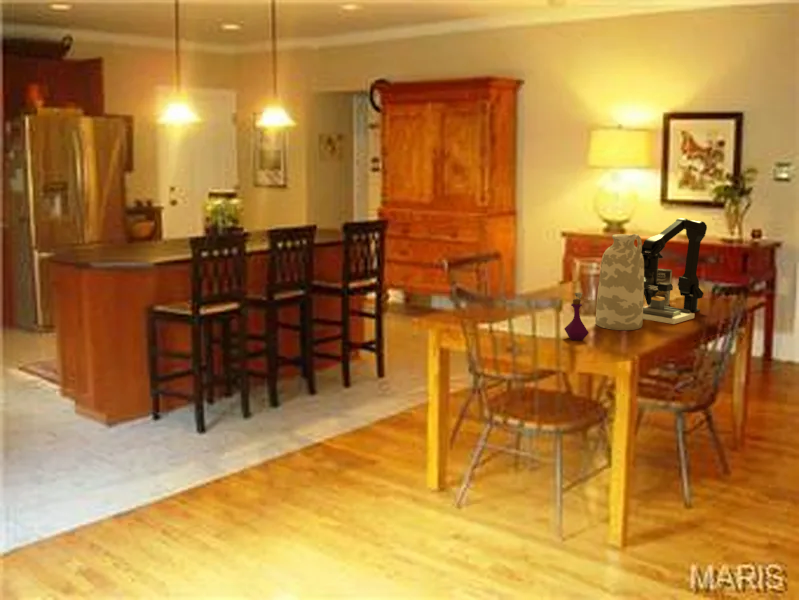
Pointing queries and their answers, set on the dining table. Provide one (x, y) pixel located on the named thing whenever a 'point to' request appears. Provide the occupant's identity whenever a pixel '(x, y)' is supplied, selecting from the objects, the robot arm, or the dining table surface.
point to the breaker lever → (657, 303)
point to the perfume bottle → (576, 322)
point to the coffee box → (664, 277)
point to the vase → (621, 285)
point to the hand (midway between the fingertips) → (648, 304)
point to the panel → (667, 314)
